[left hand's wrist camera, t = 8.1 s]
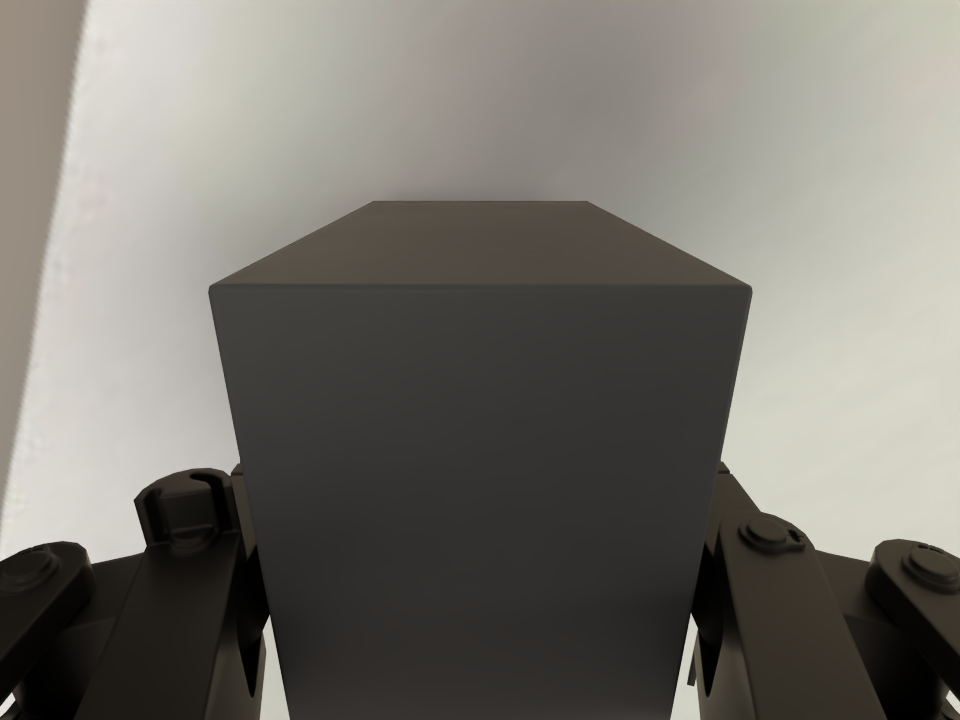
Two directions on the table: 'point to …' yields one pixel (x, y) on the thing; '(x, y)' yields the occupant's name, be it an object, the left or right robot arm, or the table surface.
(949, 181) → the table surface
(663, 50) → the table surface
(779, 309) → the table surface
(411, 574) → the post
